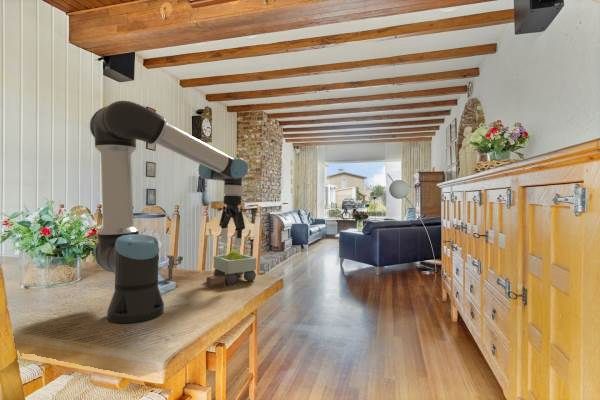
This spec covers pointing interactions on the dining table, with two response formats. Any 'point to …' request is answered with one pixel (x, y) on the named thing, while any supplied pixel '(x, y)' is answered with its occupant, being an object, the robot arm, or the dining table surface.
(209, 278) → the chock
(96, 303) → the dining table surface
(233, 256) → the tennis ball
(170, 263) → the mechanical component
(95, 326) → the dining table surface
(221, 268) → the trolley
